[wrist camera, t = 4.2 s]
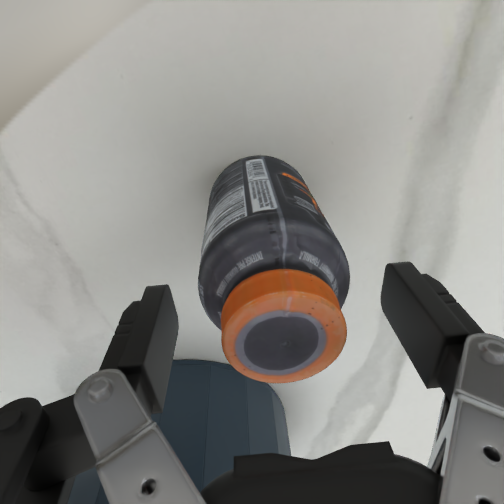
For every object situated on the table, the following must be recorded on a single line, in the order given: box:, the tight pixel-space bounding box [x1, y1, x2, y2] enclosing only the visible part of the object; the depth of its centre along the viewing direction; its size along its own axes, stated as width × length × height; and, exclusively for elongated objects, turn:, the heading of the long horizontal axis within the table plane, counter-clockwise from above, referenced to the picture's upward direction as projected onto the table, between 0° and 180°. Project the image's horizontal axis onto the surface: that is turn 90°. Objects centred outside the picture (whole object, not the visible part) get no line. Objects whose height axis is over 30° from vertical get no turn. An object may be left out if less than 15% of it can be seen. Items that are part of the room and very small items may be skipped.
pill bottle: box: [198, 156, 350, 383], centre depth 15 cm, size 6×6×11 cm
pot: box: [67, 360, 291, 504], centre depth 26 cm, size 18×23×12 cm
